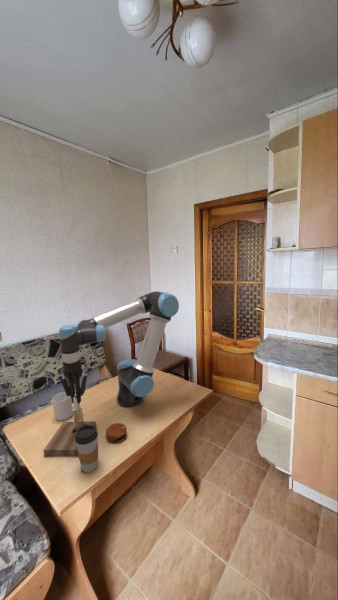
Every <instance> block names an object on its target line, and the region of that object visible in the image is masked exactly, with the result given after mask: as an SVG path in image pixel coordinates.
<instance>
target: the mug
mask: <svg viewBox="0 0 338 600" xmlns="http://www.w3.org/2000/svg"><path fill="white" fill-rule="evenodd" d="M75 395H76V394H75ZM52 406H53V407H52V408H53V413H54V415H53V416H54V419H55V420H57V421H60V422H61V421H62V422H64V421H66V420H68V419H69V418H71V417H72V416H73V411H74V405H73V404H72V400H71V397H70V396H67V395H66V393H65V391H64V392H59V393H56V394H54V396H53V397H52Z"/></svg>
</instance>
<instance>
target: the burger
mask: <svg viewBox="0 0 338 600" xmlns="http://www.w3.org/2000/svg"><path fill="white" fill-rule="evenodd" d="M127 432H128V431H127V425H126V424H124V423H119V422H117V423H112V424H111V425H109V426H108V427H107V428H106V430H105V438H106V440H107V441H108V442H111V443H119V442H122V441H123V440H125V439H126V438H127V436H128V433H127Z"/></svg>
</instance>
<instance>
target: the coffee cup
mask: <svg viewBox="0 0 338 600" xmlns="http://www.w3.org/2000/svg"><path fill="white" fill-rule="evenodd" d="M98 436H99V432H98V429H97V427H95V426H93V425H86V426H83V427H81V428H79V429H78V430H77V432H76V435H75V442H76V444H77V451H78V456H77V457H78V460H79V464H80V469H81V471H83V472H84V473H91V472H93V471H95V470H96V469H97V467H98V465H99V441H98V439H99V438H98Z"/></svg>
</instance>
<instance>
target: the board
mask: <svg viewBox="0 0 338 600" xmlns="http://www.w3.org/2000/svg"><path fill="white" fill-rule="evenodd" d="M86 425H93V426H95V427H96V428H97V421H95V420H94V421H90V420H89V421H87V420H86V421H84V426H86ZM75 435H76V431H75V424H74V421H62V423H61V425H60V426H59V428H58V429H57V430H56V432H55V433H54V435H53V436H52V437H51V439H50V440H49V441H48V443H47V445H46V446H45V447H44V448H43V457H46V458H47V457H50V458H51V457H52V458H53V457H79V456H78V451H77V444H76V442H75Z"/></svg>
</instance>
